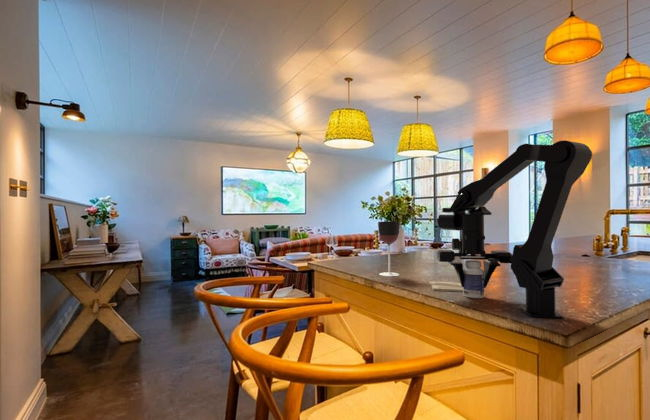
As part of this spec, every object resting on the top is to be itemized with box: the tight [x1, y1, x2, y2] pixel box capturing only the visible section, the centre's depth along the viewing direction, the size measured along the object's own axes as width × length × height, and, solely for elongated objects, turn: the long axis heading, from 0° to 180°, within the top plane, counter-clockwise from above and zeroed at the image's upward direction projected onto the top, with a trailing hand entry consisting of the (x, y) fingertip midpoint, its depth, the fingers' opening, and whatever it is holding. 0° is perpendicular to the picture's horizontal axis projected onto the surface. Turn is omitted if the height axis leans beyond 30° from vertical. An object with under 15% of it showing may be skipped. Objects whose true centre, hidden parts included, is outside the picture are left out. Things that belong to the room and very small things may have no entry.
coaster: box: [428, 281, 463, 293], centre depth 101 cm, size 10×10×1 cm
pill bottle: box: [462, 259, 485, 299], centre depth 90 cm, size 5×5×10 cm
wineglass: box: [377, 221, 400, 277], centre depth 123 cm, size 8×9×20 cm
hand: (473, 287), depth 90 cm, fingers closed on pill bottle, 5 cm apart
